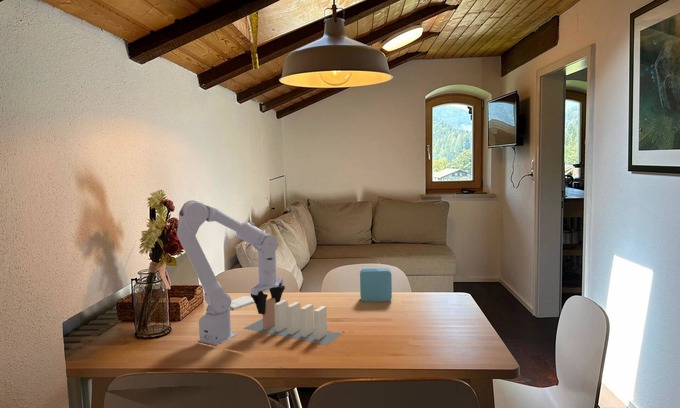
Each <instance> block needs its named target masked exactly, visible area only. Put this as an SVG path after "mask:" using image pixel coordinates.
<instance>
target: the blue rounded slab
mask: <svg viewBox="0 0 680 408" xmlns="http://www.w3.org/2000/svg"><path fill="white" fill-rule="evenodd" d="M392 276H393V275H392V272H391V270H390V269H389V268H363V269H361V270H360V271H359V277H360V278H359V283H360V284H359V286H360V289H359V292H360V300H361V301H362V302H367V303H368V302H370V303H371V302H389V301H391V300H392V299H393V296H392V295H393V292H392V290H393V288H392V287H393V286H392V282H393V281H392Z"/></svg>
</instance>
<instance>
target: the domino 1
mask: <svg viewBox="0 0 680 408" xmlns="http://www.w3.org/2000/svg"><path fill="white" fill-rule="evenodd" d="M274 304H275V298H271V297H270V298H268V299H266V304H265V314H264V315H262V319H263V329H269V328H271V327H273V326H275V311H274Z"/></svg>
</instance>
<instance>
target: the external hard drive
mask: <svg viewBox="0 0 680 408" xmlns="http://www.w3.org/2000/svg"><path fill="white" fill-rule="evenodd" d="M252 304H255V302H254V300H253V298H252V297H251V296H248V295H243V296H241V297H238V298H234V299H231V305H230V310H233V309H235V310H237V308H238V309H241V308H244V307H248V306H250V305H252ZM240 307H241V308H240Z"/></svg>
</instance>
